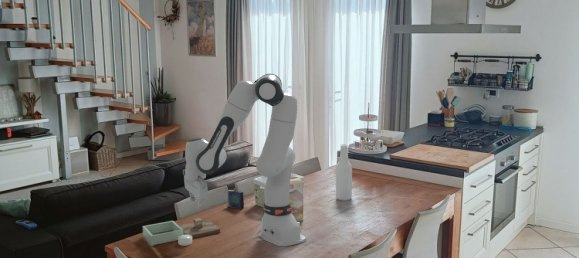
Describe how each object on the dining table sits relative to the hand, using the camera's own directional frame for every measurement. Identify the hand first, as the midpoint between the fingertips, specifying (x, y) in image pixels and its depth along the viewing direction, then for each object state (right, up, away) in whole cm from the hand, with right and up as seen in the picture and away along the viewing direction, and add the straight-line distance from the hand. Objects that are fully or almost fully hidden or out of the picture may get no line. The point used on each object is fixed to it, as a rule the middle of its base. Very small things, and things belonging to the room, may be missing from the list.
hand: (196, 203), depth 236 cm
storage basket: (+37, -7, +44) cm, 57 cm away
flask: (+14, -8, +38) cm, 42 cm away
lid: (+1, -13, +2) cm, 13 cm away
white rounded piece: (-3, -16, -12) cm, 20 cm away
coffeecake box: (+41, -11, +18) cm, 46 cm away
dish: (-14, -15, -5) cm, 21 cm away
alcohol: (+72, -5, +52) cm, 89 cm away
